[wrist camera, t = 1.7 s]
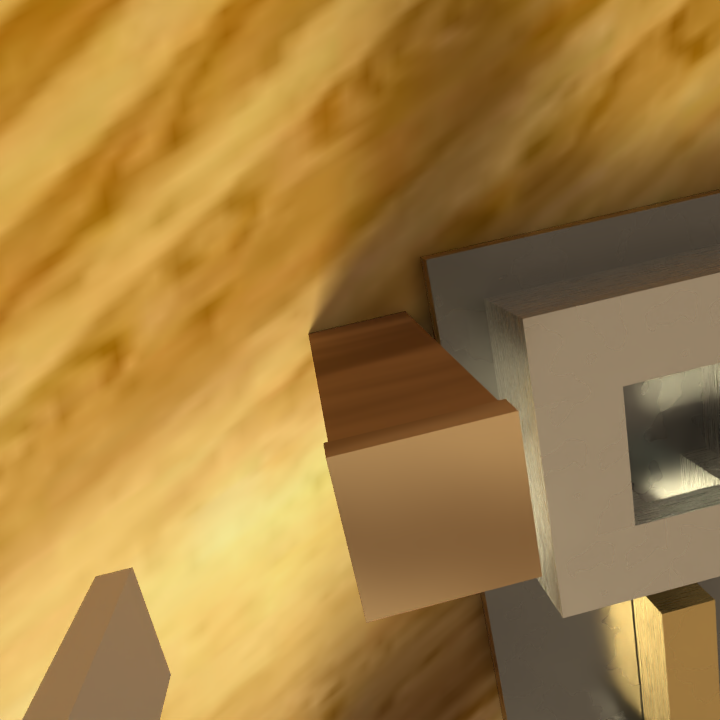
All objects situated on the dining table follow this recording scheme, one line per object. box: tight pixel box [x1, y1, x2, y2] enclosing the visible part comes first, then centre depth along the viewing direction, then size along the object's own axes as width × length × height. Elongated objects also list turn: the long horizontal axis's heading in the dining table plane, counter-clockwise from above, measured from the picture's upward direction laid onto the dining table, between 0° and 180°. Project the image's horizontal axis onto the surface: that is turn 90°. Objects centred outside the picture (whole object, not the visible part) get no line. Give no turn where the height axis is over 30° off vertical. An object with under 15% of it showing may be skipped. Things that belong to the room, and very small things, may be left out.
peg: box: [309, 311, 542, 623], centre depth 19 cm, size 4×4×12 cm
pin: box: [633, 583, 720, 720], centre depth 28 cm, size 11×4×4 cm, turn 12°
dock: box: [420, 189, 720, 720], centre depth 26 cm, size 28×16×5 cm, turn 12°
